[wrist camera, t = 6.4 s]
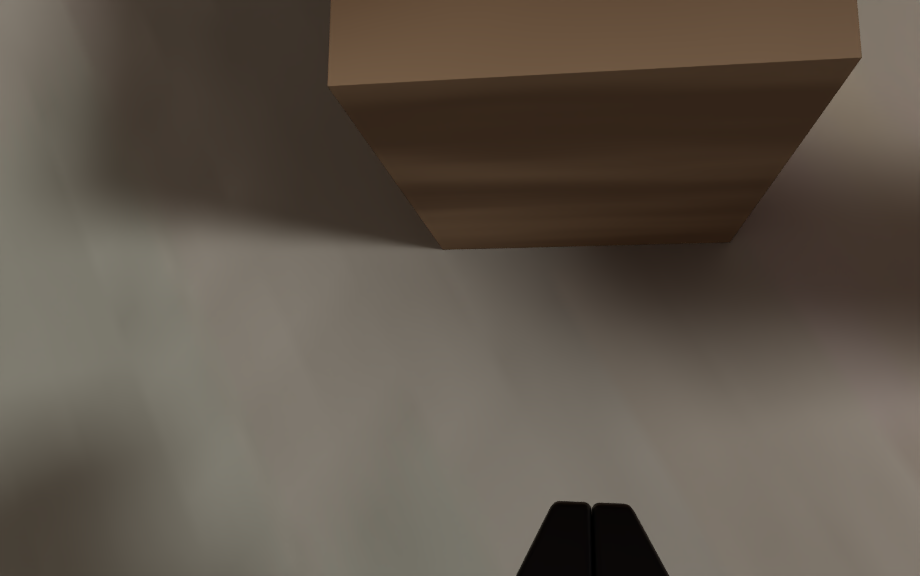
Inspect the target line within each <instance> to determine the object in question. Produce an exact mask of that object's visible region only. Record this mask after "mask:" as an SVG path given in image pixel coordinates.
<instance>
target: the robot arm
mask: <svg viewBox="0 0 920 576" xmlns="http://www.w3.org/2000/svg"><path fill="white" fill-rule="evenodd" d="M516 576H669V574H668V573H667V571H666V569H665V567H664V565H663V563H662V562H661V560H660V558H659V556H658V554H657V552H656V551H655V549H654V547H653V545H652V543H651V541H650V540H649V538H648V536H647V534H646V532H645V530H644V528H643V527H642V525H641V523H640V521H639V519H638V517H637V516H636V514H635V512H634V510H633V509H632V508H631V507H630V506H629V505H627V504H619V503H596V504H595V505H594V506H593V507H592V511H591V506H590V505H589V504H588V503H586V502H570V501H557V502H555V503H554V504H553V505H552V506H551V507H550V509H549V511H548V513H547V515H546V517H545V519H544V521H543V523H542V525H541V527H540V529H539V531H538V533H537V535H536V537H535V539H534V541H533V543H532V545H531V547H530V549H529V551H528V553H527V555H526V557H525V559H524V561H523V563H522V565H521V567H520V569H519V571H518V573H517V575H516Z"/></svg>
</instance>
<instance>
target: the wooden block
mask: <svg viewBox="0 0 920 576" xmlns="http://www.w3.org/2000/svg"><path fill="white" fill-rule="evenodd" d="M861 58H862V54H861V42H860V31H859V19H858V8H857V0H331V11H330V36H329V62H328V87H329V89H330V90H331V92H332V93H333V95H334V96H335V97H336V99H337V100H338V102H339V103H340V105H341V106H342V107H343V109H344V110H345V112H346V113H347V114H348V116H349V117H350V119H351V120H352V122H353V123H354V124H355V126H356V127H357V129H358V130H359V131H360V133H361V134H362V136H363V137H364V139H365V140H366V141H367V143H368V144H369V146H370V147H371V148H372V150H373V151H374V153H375V154H376V156H377V157H378V158H379V160H380V161H381V163H382V164H383V165H384V167H385V168H386V170H387V171H388V173H389V174H390V175H391V177H392V178H393V180H394V181H395V182H396V184H397V185H398V187H399V188H400V190H401V191H402V192H403V194H404V195H405V197H406V198H407V199H408V201H409V202H410V204H411V205H412V207H413V208H414V209H415V211H416V212H417V214H418V215H419V216H420V218H421V219H422V221H423V222H424V224H425V225H426V226H427V228H428V229H429V231H430V232H431V234H432V235H433V236H434V238H435V239H436V241H437V242H438V243H439V245H440V246H441V248H442V249H443V250H450V249H490V248H529V247H568V246H608V245H647V244H687V243H726V242H731V240H732V239H733V237H734V236H735V234H736V233H737V232H738V230H739V229H740V227H741V226H742V225H743V223H744V222H745V220H746V219H747V218H748V216H749V215H750V213H751V212H752V211H753V209H754V208H755V206H756V205H757V204H758V202H759V201H760V199H761V198H762V197H763V195H764V194H765V192H766V191H767V190H768V188H769V187H770V185H771V184H772V183H773V181H774V180H775V178H776V177H777V176H778V174H779V173H780V171H781V170H782V169H783V167H784V166H785V164H786V163H787V162H788V160H789V159H790V157H791V156H792V155H793V153H794V152H795V150H796V149H797V148H798V146H799V145H800V143H801V142H802V141H803V139H804V138H805V136H806V135H807V134H808V132H809V131H810V129H811V128H812V127H813V125H814V124H815V122H816V121H817V119H818V118H819V117H820V115H821V114H822V112H823V111H824V110H825V108H826V107H827V105H828V104H829V103H830V101H831V100H832V98H833V97H834V96H835V94H836V93H837V91H838V90H839V89H840V87H841V86H842V84H843V83H844V82H845V80H846V79H847V77H848V76H849V75H850V73H851V72H852V70H853V69H854V68H855V66H856V65H857V63H858V62H859V61H860V59H861Z"/></svg>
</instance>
